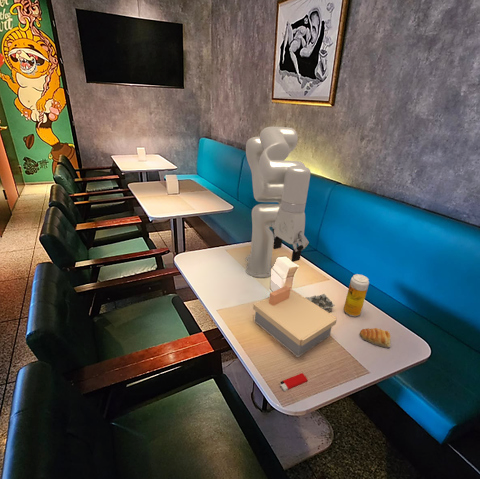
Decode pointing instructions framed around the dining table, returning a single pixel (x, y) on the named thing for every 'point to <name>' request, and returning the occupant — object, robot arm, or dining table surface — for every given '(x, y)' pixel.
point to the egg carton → (322, 302)
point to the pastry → (376, 336)
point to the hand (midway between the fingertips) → (285, 254)
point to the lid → (295, 315)
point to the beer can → (356, 295)
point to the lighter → (293, 382)
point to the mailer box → (285, 340)
